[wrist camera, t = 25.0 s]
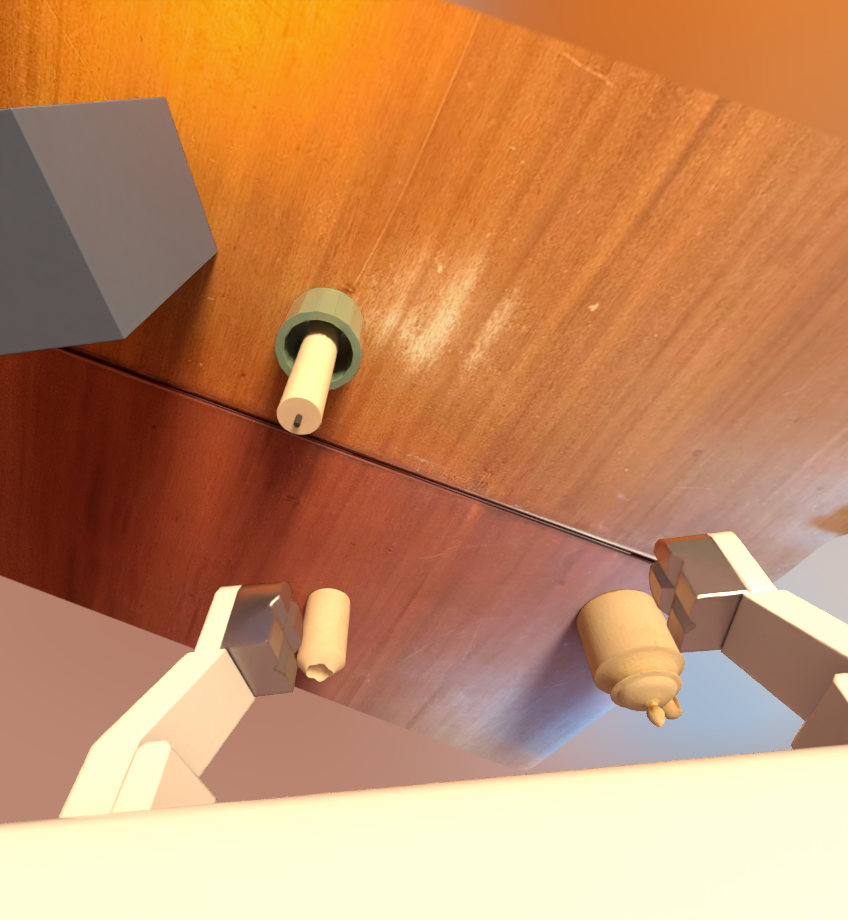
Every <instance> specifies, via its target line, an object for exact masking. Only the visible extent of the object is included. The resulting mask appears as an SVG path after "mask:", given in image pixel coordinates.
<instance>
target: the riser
mask: <svg viewBox="0 0 848 920" xmlns="http://www.w3.org/2000/svg"><path fill="white" fill-rule="evenodd" d="M217 252H218V251H217V248H216V245H215V242H214V239H213V236H212V233H211V230H210V227H209V224H208V221H207V218H206V215H205V213H204V210H203V207H202V204H201V201H200V198H199V195H198V192H197V189H196V186H195V183H194V180H193V177H192V174H191V171H190V168H189V165H188V163H187V160H186V157H185V154H184V151H183V148H182V145H181V142H180V139H179V136H178V133H177V130H176V127H175V124H174V121H173V118H172V115H171V112H170V110H169V107H168V104H167V101H166V98H165V97H155V98H141V99H127V100H113V101H100V102H86V103H72V104H58V105H44V106H30V107H16V108H7V109H0V355H6V354H14V353H22V352H30V351H37V350H45V349H53V348H61V347H69V346H76V345H84V344H92V343H100V342H108V341H116V340H123V339H125V338H127V337H128V336H129V335H130V334H131V333H132V332H133V331H134V330H135V329H136V328H137V327H138V326H139V325H140V324H141V323H142V322H144V321H145V320H146V319H147V318H148V317H149V316H150V315H151V314H152V313H153V312H154V311H155V310H156V309H157V308H158V307H159V306H161V305H162V304H163V303H164V302H165V301H166V300H167V299H168V298H169V297H170V296H171V295H172V294H173V293H174V292H175V291H176V290H178V289H179V288H180V287H181V286H182V285H183V284H184V283H185V282H186V281H187V280H188V279H189V278H190V277H191V276H192V275H193V274H195V273H196V272H197V271H198V270H199V269H200V268H201V267H202V266H203V265H204V264H205V263H206V262H207V261H208V260H209V259H210V258H212V257H213V256H214V255H215V254H216V253H217Z"/></svg>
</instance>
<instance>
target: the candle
mask: <svg viewBox="0 0 848 920" xmlns="http://www.w3.org/2000/svg"><path fill="white" fill-rule="evenodd" d="M349 615H350V599H349V597H348V596H347V595H346V594H345V593H343V592H342V591H339V590H336V589H331V588H325V589H319V590H316V591H314V592H313V593H311V594H310V596H309V597H308V600H307V604H306V609H305V615H304V620H303V638H302V645H301V647H300V648H299V649H298V654H297V662H298V667H299V668H300V669H301V670H302V671H303V672H304V673H305V674H306V676H307V677H309V678H314V679H316V680H317V681H320V682H321V681H324V680H325V679H326V678H328V677H330V676H333V675H335V674H336V673H338V672H339V671H340V670H342V669H343V667H344V665H345V658H346V647H347V637H348V626H349Z"/></svg>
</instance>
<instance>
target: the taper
mask: <svg viewBox="0 0 848 920" xmlns="http://www.w3.org/2000/svg"><path fill="white" fill-rule="evenodd" d="M341 335H342V330H340V329H339V328H337V327H336V326H335V325H333V324H332V323H329V322H325V321H321V320H311V321H310V323H309V325H308V328H307V331H306V333H305V336H304V339H303V341H302V344H301V347H300V349H299V352H298V355H297V357H296V360H295V363H294V365H293V368H292V371H291V373H290V376H289V379H288V381H287V384H286V387H285V390H284V392H283V395H282V398H281V400H280V403H279V406H278V408H277V419H278V421H279V423H280V424H281V426H282V427H283V428H284V429H286V430H287V431H289V432H291V433H294V434H298V435H305V434H310V433H312V432H314V431H315V430H317V429H318V428H319V426H320V424H321V421H322V417H323V413H324V408H325V404H326V400H327V395H328V391H329V387H330V382H331V378H332V374H333V369H334V365H335V361H336V356H337V352H338V348H339V343H340V339H341Z"/></svg>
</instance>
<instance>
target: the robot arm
mask: <svg viewBox="0 0 848 920" xmlns="http://www.w3.org/2000/svg"><path fill="white" fill-rule="evenodd" d="M654 554H655V556H656V558H657V559H658V560H656V561H655V562H654V563H653V564H652V565H651V566H650V572H649V582H650V590H651V593H652V596H653V599H654V601H655V603H656V605H657V607H658V608H659V609H660V610H661V611H663V612H664V613H666V614H667V615H669V617H668V621H667V625H666V626H667V628H668V630H669V632H670V634H671V636H672V638H673V640H674V642H675V644H676V646H677V648H678V650H679V652H680V653H682V652H695V651H709V650H721V652H722V653H723V654H725V655H726V656H727V657H728V658H729V659H731V660H732V661H733V662H734V663H736V664H737V665H738V666H739V667H740V668H741V669H743V670H744V671H745V672H746V673H748V674H749V675H750V676H751V677H752V678H754V679H755V680H756V681H757V682H758V683H760V684H761V685H762V686H763V687H765V688H766V689H767V690H768V691H769V692H771V693H772V694H773V695H774V696H775V697H777V698H778V699H779V700H780V701H782V702H783V703H784V704H785V705H787V706H788V707H789V708H790V709H791V710H792V711H794V712H795V713H796V714H797V715H799V716H800V717H801V718H802V719H803V720H805V722H804V724H803V725H802V727H801V728H800V730H799V732H798V733H797V735H796V736H795V738H794V740H793V742H792V744H791V746H792V748H793V750H782V751H771V752H761V753H752V754H740V755H729V756H719V757H707V758H696V759H685V760H674V761H664V762H653V763H642V764H632V765H621V766H610V767H599V768H588V769H577V770H566V771H556V772H545V773H535V774H525V775H513V776H503V777H492V778H481V779H470V780H460V781H448V782H438V783H427V784H417V785H406V786H395V787H384V788H375V789H363V790H353V791H342V792H331V793H321V794H311V795H300V796H288V797H278V798H268V799H256V800H246V801H235V802H224V803H216V800H217V799H216V798H215V796H214V794H213V793H212V792H211V791H210V789H209V788H208V787H207V786H206V785H205V784H204V783H203V782H202V780H201V779H200V778H199V777H200V776H201V774H202V773H203V771H204V770H205V769H206V767H207V766H208V764H209V763H210V762H211V760H212V759H213V758H214V756H215V755H216V753H217V752H218V750H219V749H220V748H221V746H222V745H223V744H224V742H225V741H226V739H227V738H228V737H229V735H230V734H231V732H232V731H233V730H234V728H235V727H236V726H237V724H238V723H239V721H240V720H241V718H242V717H243V716H244V714H245V713H246V712H247V710H248V709H249V707H250V706H251V705H252V703H253V702H254V700H255V697H257V696H265V695H273V694H281V693H288V692H293V690H294V685H295V679H296V674H297V668H298V662H297V660H296V658H295V655H294V653H295V652H296V651H297V650H298V649H299V648H300V647H301V645H302V638H303V617H302V612H301V609H300V607H299V604H298V603H296V602H294V601H293V600H291V599H292V594H293V590H292V588H291V586H290V584H289V582H286V581H283V582H271V583H259V584H248V585H239V586H228V587H220V588H219V589H218V591H217V592H216V593H215V595H214V598H213V600H212V603H211V606H210V609H209V611H208V614H207V617H206V620H205V622H204V625H203V628H202V631H201V633H200V636H199V639H198V642H197V644H196V647H195V650H194V652H190V653H186V654H185V655H184V656H183V657H182V658H181V659H180V660H179V661H178V662H177V663H176V664H175V665H174V666H173V667H172V668H171V669H170V670H169V671H168V672H167V673H166V674H165V675H164V676H163V677H162V678H161V679H160V680H159V681H158V682H157V683H156V684H155V685H154V686H152V687H151V689H149V690H148V691H147V692H146V693H145V694H144V695H143V696H142V697H141V698H140V699H139V700H138V701H137V702H136V703H135V704H134V705H133V706H132V707H131V708H130V709H129V710H128V711H127V712H126V713H125V714H124V715H123V716H122V717H121V718H120V719H118V720H117V721H116V722H115V723H114V724H113V725H112V726H111V727H110V728H109V729H108V730H107V731H106V732H105V733H104V734H103V735H102V736H101V737H100V738H99V739H98V740H97V741H96V742H95V743H94V744H93V745H92V747H91V749H90V751H89V753H88V755H87V757H86V759H85V762H84V764H83V766H82V768H81V770H80V772H79V775H78V777H77V779H76V781H75V783H74V785H73V787H72V789H71V792H70V794H69V796H68V798H67V800H66V802H65V804H64V807H63V809H62V811H61V813H60V815H59V817H58V818H54V819H43V820H32V821H21V822H11V823H0V920H848V625H847V624H846V623H844V622H842V621H840V620H838V619H836V618H835V617H833V616H831V615H829V614H827V613H826V612H824V611H822V610H820V609H819V608H817V607H815V606H813V605H811V604H810V603H808V602H806V601H804V600H802V599H801V598H799V597H797V596H795V595H793V594H792V593H790V592H788V591H786V590H777V589H776V587H775V586H774V585H773V583H772V582H771V581H770V580H769V578H768V577H767V576H766V574H765V573H764V572H763V570H762V569H761V568H760V566H759V565H758V564H757V562H756V561H755V560H754V558H753V557H752V556H751V554H750V553H749V552H748V550H747V549H746V548H745V546H744V545H743V544H742V542H741V541H740V540H739V538H738V537H737V536H736V534H734V533H732V532H731V531H728V532H720V533H711V534H705V535H704V534H700V535H692V536H683V537H675V538H667V539H659V540H658V541H657V542H656V544H655V548H654Z"/></svg>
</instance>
